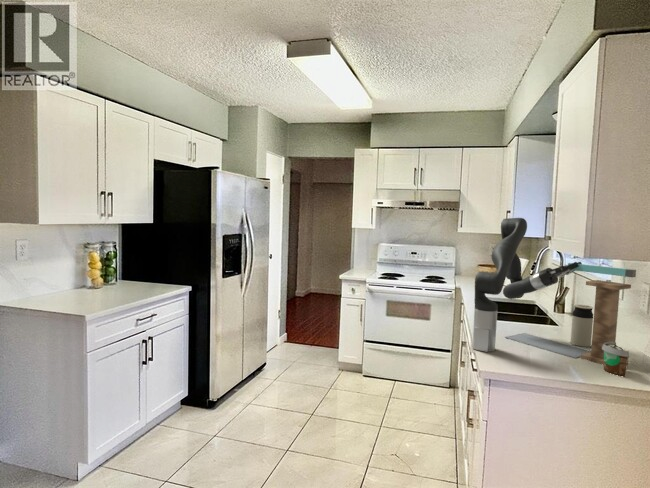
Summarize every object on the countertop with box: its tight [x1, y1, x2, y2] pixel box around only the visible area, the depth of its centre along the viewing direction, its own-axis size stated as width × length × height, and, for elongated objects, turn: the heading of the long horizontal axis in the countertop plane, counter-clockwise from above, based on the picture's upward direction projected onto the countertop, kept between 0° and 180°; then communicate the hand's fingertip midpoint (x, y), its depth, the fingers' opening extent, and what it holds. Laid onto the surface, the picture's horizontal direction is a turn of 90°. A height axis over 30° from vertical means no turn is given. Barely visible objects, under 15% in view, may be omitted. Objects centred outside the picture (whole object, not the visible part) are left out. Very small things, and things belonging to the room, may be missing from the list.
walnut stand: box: [580, 279, 632, 366], centre depth 164 cm, size 12×11×32 cm
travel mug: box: [570, 303, 594, 348], centre depth 186 cm, size 8×8×18 cm
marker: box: [567, 262, 637, 278], centre depth 166 cm, size 24×3×3 cm, turn 32°
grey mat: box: [504, 332, 591, 359], centre depth 184 cm, size 32×16×1 cm, turn 32°
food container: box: [602, 341, 630, 378], centre depth 153 cm, size 12×6×10 cm, turn 163°
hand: (579, 264), depth 173 cm, fingers closed on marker, 2 cm apart
